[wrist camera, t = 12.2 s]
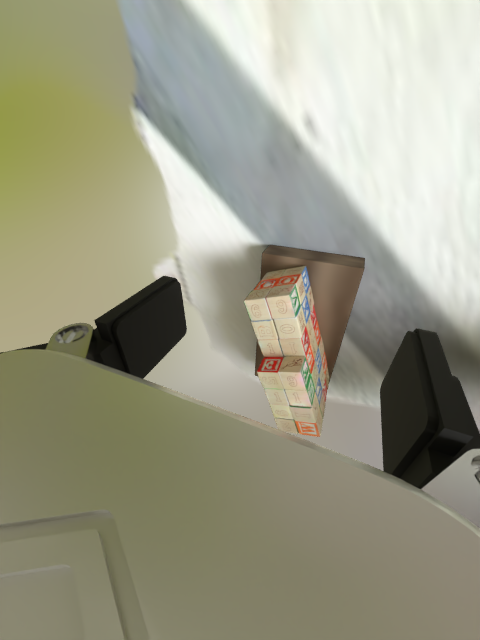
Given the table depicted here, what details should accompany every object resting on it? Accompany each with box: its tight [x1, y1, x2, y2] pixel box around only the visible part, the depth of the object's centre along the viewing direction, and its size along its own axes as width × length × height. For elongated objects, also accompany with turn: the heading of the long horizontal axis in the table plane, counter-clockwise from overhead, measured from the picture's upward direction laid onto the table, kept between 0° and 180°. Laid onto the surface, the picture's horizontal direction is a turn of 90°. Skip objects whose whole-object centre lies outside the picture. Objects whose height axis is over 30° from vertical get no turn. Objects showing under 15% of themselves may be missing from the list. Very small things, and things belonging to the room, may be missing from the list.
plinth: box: [255, 245, 365, 381], centre depth 44 cm, size 14×26×4 cm, turn 0°
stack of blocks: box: [244, 266, 329, 437], centre depth 37 cm, size 21×6×12 cm, turn 20°
